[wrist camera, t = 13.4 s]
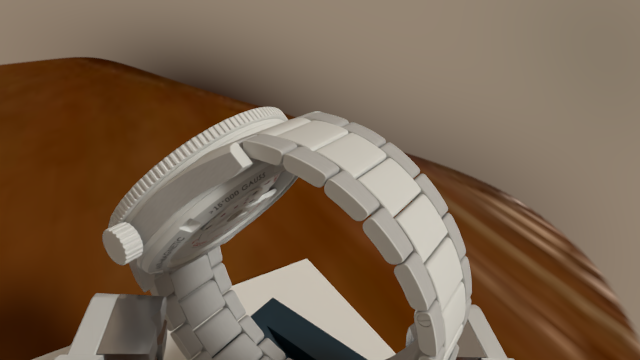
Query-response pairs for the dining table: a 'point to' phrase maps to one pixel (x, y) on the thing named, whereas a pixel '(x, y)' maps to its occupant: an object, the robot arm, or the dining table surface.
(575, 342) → the dining table surface
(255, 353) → the watch
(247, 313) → the charging pad
